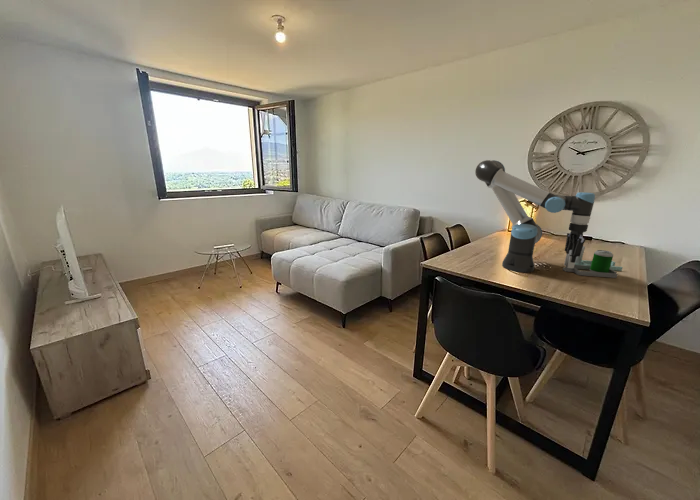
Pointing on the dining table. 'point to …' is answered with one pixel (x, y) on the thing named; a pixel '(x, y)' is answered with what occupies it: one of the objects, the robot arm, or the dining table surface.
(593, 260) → the soda can
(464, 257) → the dining table surface
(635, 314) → the dining table surface
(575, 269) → the frame
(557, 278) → the dining table surface
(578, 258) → the lane
